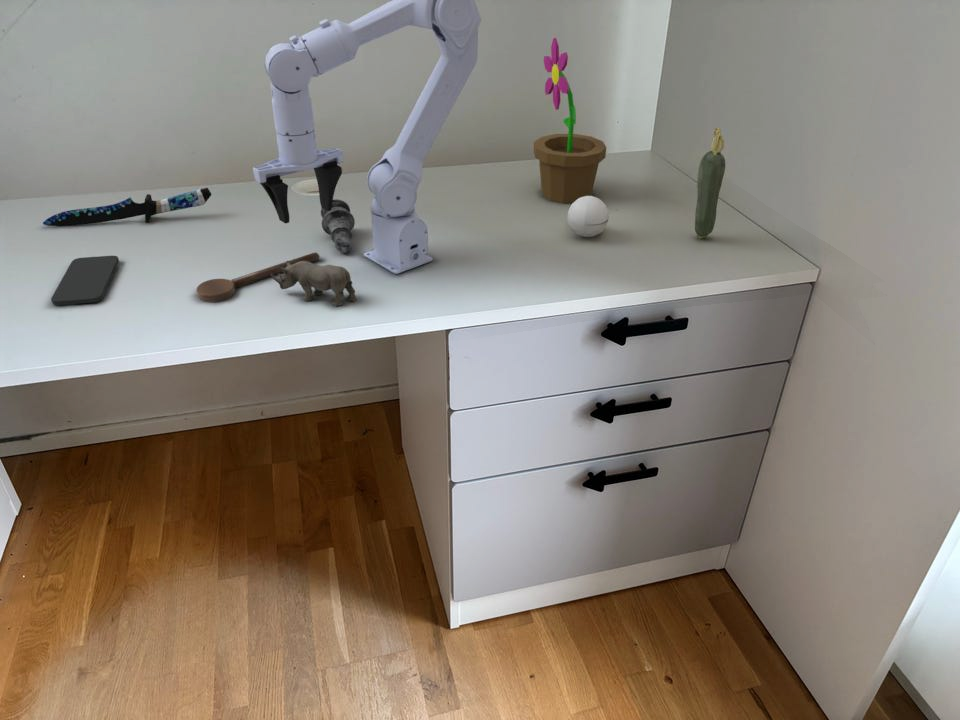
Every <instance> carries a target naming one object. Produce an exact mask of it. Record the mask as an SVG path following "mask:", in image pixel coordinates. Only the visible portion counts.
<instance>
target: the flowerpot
mask: <svg viewBox="0 0 960 720" xmlns="http://www.w3.org/2000/svg"><path fill="white" fill-rule="evenodd" d="M550 50H551V51H550V53H551V55H543V66H544V69H545V70H546V72H547V73H551V77H548V78H547V79H546V81H545V84H544V94H545V95H546V96H548V95H551V94H552V103H553V106H554V109H555V111H558V110H559V109H560V105H561V94H566V95H567V102H568V103H567V104H568V112H569V117H566V118H563V120H562V121H563V124H564V125H565V126H566V128H567V130H568V133H553V134H549V135H544V136H541V137H539V138H538V139H536V140H535V141H534V142H533V154H534V155H533V156H534V158H535V159H536V160H538V162H539V163H538V164H539V175H540V188H541V194H542V195H541V196H542V197H543V198H545V199H546V200H548V201H550V202H555V203H560V204H572V203H573V202H574V201H576V200H577V199H578V198H581V197H584V196H593V191H594V186H595V182H596V178H597V174H598V169H599V164H600V163H601V162H602V161H604V159H605V158H606V155H607V146H606V144H605V142H604V141H603V140H601V139H598V138H595V137H593V136H591V135H586V134H585V135H584V134H578V133H574V125H576V123H577V121H576V118H577V116H576V114H577V109H576V106H575V105H574V98H573V97H574V95H573V92H572V89H571V87H570V83H569V82H568V79H567V76H565V74H564V73H563V71H565V69H566V68H567V66H568V61H569V60H568V59H569V56H568V55H569V54H568V52H566V51H565V52H562V53H560V46H559V42H558V39H557V38H556V37H553V38H552V41H551V45H550Z"/></svg>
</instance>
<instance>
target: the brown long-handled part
mask: <svg viewBox="0 0 960 720" xmlns="http://www.w3.org/2000/svg"><path fill="white" fill-rule="evenodd" d="M319 259H320V254H319V253H318V252H312V253H309V254H306V255H302V256H300V257H296V258H294V259H289V260H288V261H289V263H290V264H291V265H293V264H295V263H297V262H300V261H307V262H310V263H313V262H316V261H318V260H319ZM279 267H281V268H286V267H287V266H286V261H283V262H281V263H278V264H275V265H271V266H269V267H266V268H263V269H259V270H257V271H254V272H250V273H247V274H244V275H241V276H238V277H235V278H232V279H227V278H212V279H208V280H205V281H203V282H201V283H200V284H198V285H197V287H196V293H197V297H198V299H199V300H201V301H203V302H207V303H216V302H217V303H218V302H223V301H226V300H228V299H230V298H231V297H233V296H234V295H235V294H236V293H235V292H236V288H240V287H242V286H245V285H248V284H250V283H255V282H257V281H260V280H264V279H265V278H266V279H267V278H270V277H272V276H271V274H273V275H274V276H275V275H278V273H279V274H282V272H281V271H280V269H279Z"/></svg>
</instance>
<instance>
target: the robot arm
mask: <svg viewBox="0 0 960 720" xmlns="http://www.w3.org/2000/svg"><path fill="white" fill-rule="evenodd" d="M481 22H482V17H481V14H480V11H479V9H478V5H477V2H476V1H475V0H390V1H388V2H386V3H384V4H382V5H380V6H379V7H377V8H375V9H373V10H371V11H370V12H367V13H366V14H364V15H362V16H361V17H359V18H356V19H355V20H353V21H351V22H350V23H349V22H348V23H346V22H343V21H341V20H339V19H334V20H332V21H329V19H328V18H324V19H323V20H320V21H319V22H318V23H319V27H317V28H315V29H313V30H311V31H309V32H307V33H305V34H303V35H300V36H298V37H297V35H295V34H294V35H292V36H289V41H290V43H285V42H279V43H276V44H275V45H273V46H272V47H271V48H270V49H269V50H268V52H267V53H266V55H265V60H264V63H263V67H264V70H265V72H266V74H267V75H268V77H269V79H270V94H271V97H272V98H271V106H272V114H273V115H272V116H273V122H274V128H275V135H276V144H277V150H278V151H277V152H278V157H277V158H275V159H272V160H270V161H268V162H265V163H263V164H260V165H257V166H253V167H252V173H253V179H254V181H256V182H257V183H259V184H260V185H261V187H262V188H263V189H264V191H265V192H266V194H267V195H268V197H269V199H270V201H271V202H272V204H273V207H274V209H275V211H276V214H277V216H278V220H279V221H280V222H282V223H283V224H288V223H290V211H289V204H288V191H289V185H288V184H286V183H285V182H284V180H283V178H281V177H284V176H289V175H293V174H297V173H301V172H304V171H309V170H312V169H313V172H314V174H315V177H316V182H317V186H318V195H319V203H320V207H321V208H323V209H325V210H326V211H331V209H332V202H333V200H334V196H335V191H336V187H337V185H338V182H339V181H340V178H341V176H342V174H343V169H342V166H340V165H339V164H343V163H344V154H343V153H344V152H343V150H341V149H339V148H337V147H333V148H329V149H328V148H327V149H319V150H317V149H318V147H317V139H316V131H315V123H314V114H313V105H312V99H311V97H310V92H309V91H310V90H309V84H310V81H311V80H312V78H317V77H319V76H321V75H323V74H325V73H327V72H330V71H332V70H334V69H336V68H338V67H341V66H343V65H344V64H346V63H348V62H351V61H352V60H354V59H355V58H356V55H357V53H358V50H359V48H360V46H363V45H366V44H367V43H370V42H372V41H374V40H377V39H379V38H382V37H384V36H386V35H389V34H391V33H393V32H395V31H398V30H400V29H403V28H405V27H407V26H412V27H418V28H422V29H428V30H429V29H430V30H432V32H433V33H434V36H435V40H436V42H437V46H438V48H439V52H440V56H439V58H438V61H436V64H435V66H434V68H433V70H432V72H431V74H430V76H429V78H428V80H427V82H426V84H425V85H424V88H423V89H422V91H421V93H420V95H419V97H418V99H417V101H416V103H415V105H414V107H413V108H412V110H411V112H410V114H409V117H408V118H407V120H406V122H405V124H404V126H403V128H402V130H401V132H400V134H399V135H398V138H397V139H396V141H395V144H394V145H392V146H391V147H390V148H388V149H387V150H385V152H384V153H383V156H382V157H381V158H380V160H379V161H377V162H376V163H375V164H373V165H372V166H371V167H370V169H369V171H368V172H367V177H366V183H367V187H368V189H369V190H370V192H371V193H372V194H373V195H374V197H373V199H372V201H371V204H370V219H371V230H372V242H373V243H372V244H373V249H371V250H368V251H366V252H364V253H363V257H365V258H367V259H369V260H370V261H372V262H373V263H375V264H376V265H377V264H378V265H379V266H381V267H382V268H384V269H386V270H387V271H389V272H391V273H393V274H395V275H397V274H401V273H403V272H406V271H408V270H412V269H414V268H417V267H420V266H422V265H426V264H427V263H430V262H432V261H433V257H432V256H430V255H429V236H428V235H429V234H428V227H427V224H426V223H425V222H424V220H422V219H421V218H420V217H419V216H418V214H417V212H416V209H415V206H416V202H417V197H418V196H417V195H418V188H419V186H420V184H421V182H422V178H423V165H424V164H423V163H425V160H426V158H427V156H428V154H429V152H430V151H431V148H432V147H433V145H434V143H435V141H436V139H437V137H438V136H439V133H440V132H441V130H442V128H443V127H444V124H445V123H446V120H447V119H448V117H449V115H450V113H451V112H452V109H453V108H454V106H455V103H456V102H457V100H458V98H459V96H460V94H461V93H462V91H463V89H464V87H465V85H466V83H467V82H468V80H469V77H470V76H471V73H472V72H473V70H474V69H475V66H476V64H477V62H478V55H479V54H478V51H479V27H480V24H481Z"/></svg>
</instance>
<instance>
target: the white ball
mask: <svg viewBox="0 0 960 720" xmlns="http://www.w3.org/2000/svg"><path fill="white" fill-rule="evenodd" d="M616 211H617V209H615V210H612V211H609V210H608V208H607V204H605V202H603V201H602V200H601V199H600V198H598V197H597V196H593V195H591V196H584V197H581V198H578V199H577V200H576V201H574V202H573V203H571V205H570V207H569V208H568V212H567V223H568V226H569V227H570V229H571V231H572V232H574V233H575V234H576V235H577V236H580V237H584V238H591V237H595V236H598V235H599V234H600V233H602V232H603V231H604V230H605V228H606V227H607V225H608V222H609V214H610V213H612V212H616Z"/></svg>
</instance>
